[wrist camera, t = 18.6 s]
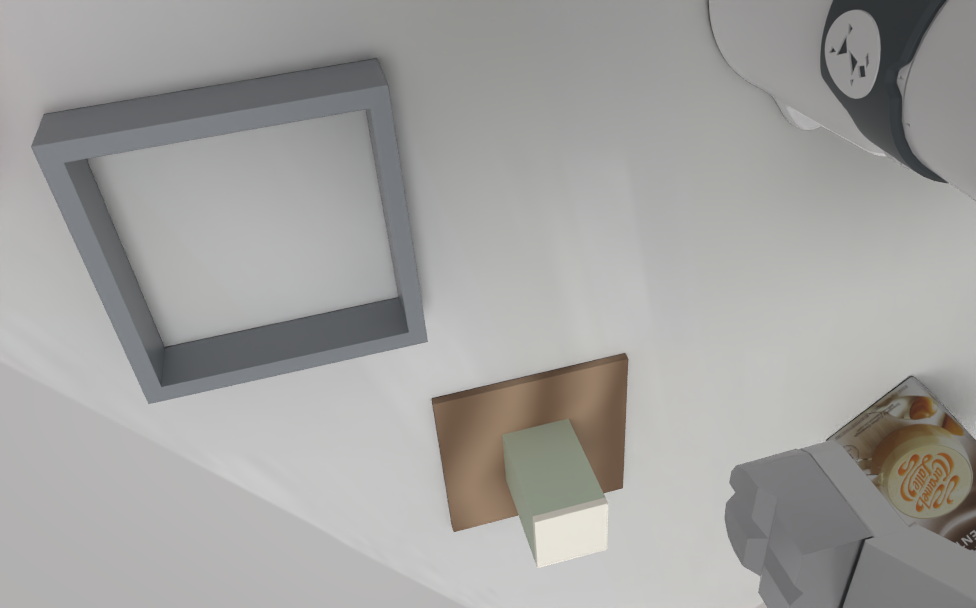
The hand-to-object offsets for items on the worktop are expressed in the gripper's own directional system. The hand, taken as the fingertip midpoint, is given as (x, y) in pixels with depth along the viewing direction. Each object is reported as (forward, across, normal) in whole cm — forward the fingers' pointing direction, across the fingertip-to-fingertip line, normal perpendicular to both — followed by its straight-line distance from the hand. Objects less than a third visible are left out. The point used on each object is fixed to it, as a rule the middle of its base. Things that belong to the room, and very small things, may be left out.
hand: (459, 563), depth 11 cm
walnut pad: (+34, -10, +37) cm, 51 cm away
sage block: (+34, -10, +37) cm, 51 cm away
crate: (+34, +5, +14) cm, 37 cm away
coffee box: (+34, -41, +45) cm, 70 cm away
